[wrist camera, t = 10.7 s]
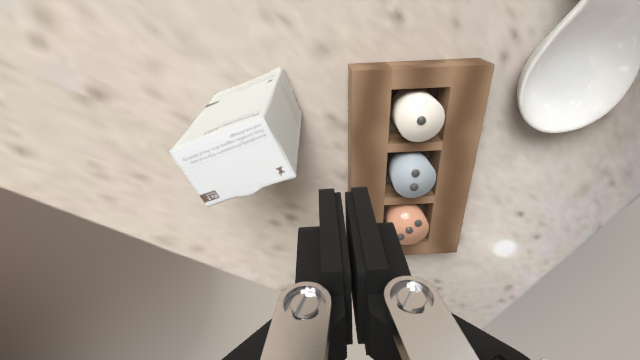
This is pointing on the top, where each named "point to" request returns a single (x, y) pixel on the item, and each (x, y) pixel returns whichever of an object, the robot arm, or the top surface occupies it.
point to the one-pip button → (416, 114)
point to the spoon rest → (581, 66)
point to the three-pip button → (407, 222)
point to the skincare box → (242, 139)
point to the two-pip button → (410, 173)
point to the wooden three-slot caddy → (445, 147)
